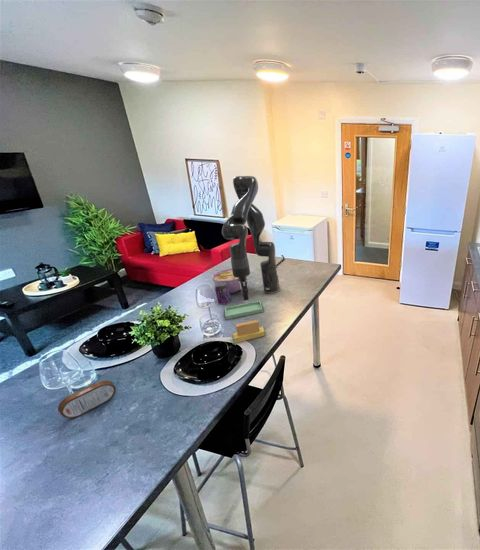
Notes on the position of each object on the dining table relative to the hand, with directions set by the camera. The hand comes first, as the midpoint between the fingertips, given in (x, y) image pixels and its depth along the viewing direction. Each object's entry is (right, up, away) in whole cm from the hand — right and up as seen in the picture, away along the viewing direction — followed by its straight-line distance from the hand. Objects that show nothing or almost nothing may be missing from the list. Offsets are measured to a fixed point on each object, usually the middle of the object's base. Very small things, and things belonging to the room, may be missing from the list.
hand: (245, 296), depth 142 cm
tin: (-39, -37, -38) cm, 66 cm away
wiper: (+2, -20, +1) cm, 20 cm away
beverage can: (-26, -6, +32) cm, 41 cm away
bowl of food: (-28, 0, +45) cm, 53 cm away
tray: (-10, -10, +23) cm, 27 cm away
